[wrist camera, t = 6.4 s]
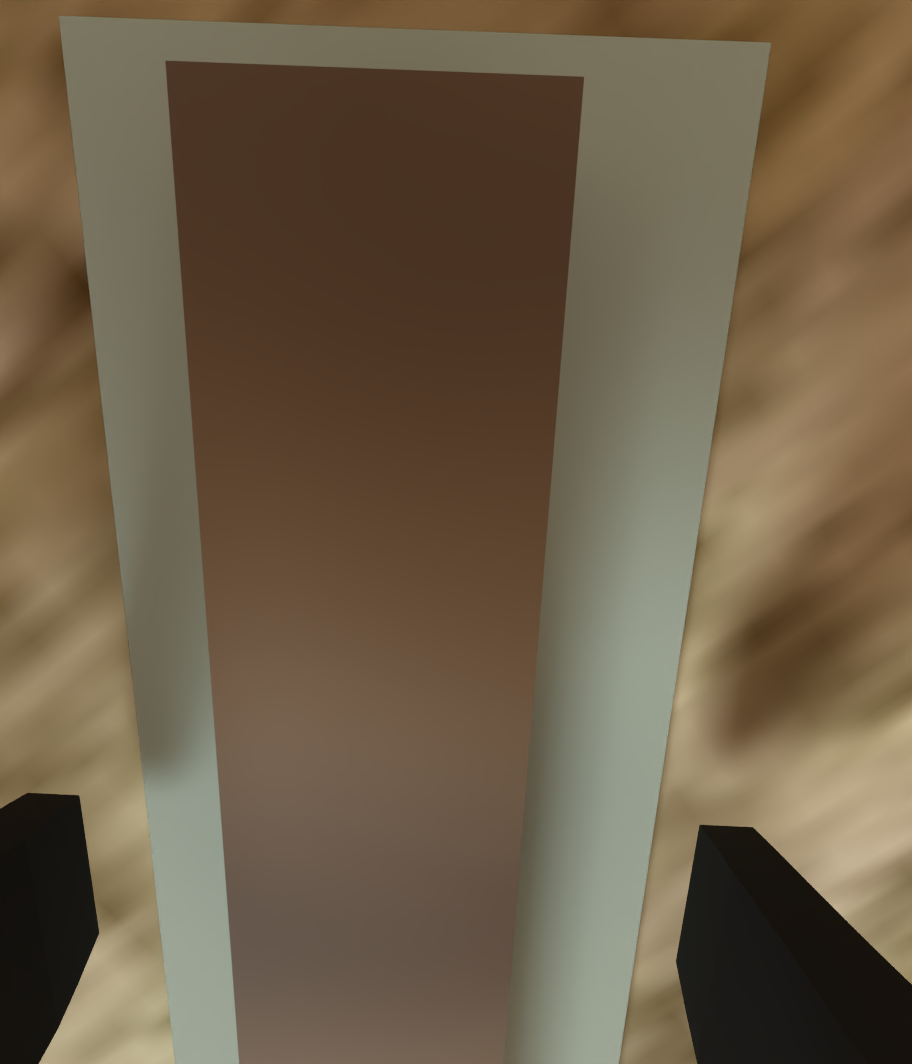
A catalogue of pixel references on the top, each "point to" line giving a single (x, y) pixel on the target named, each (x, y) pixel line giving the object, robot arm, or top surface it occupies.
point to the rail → (372, 528)
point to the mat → (575, 496)
